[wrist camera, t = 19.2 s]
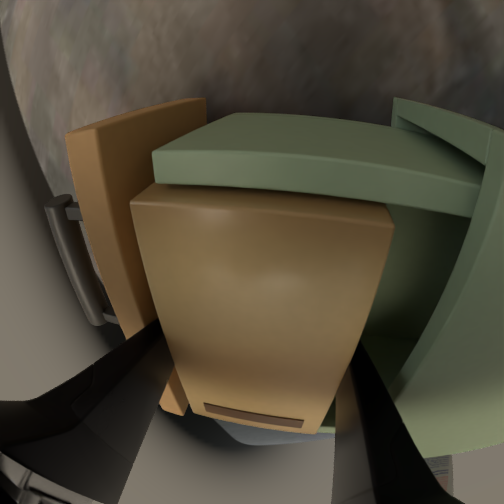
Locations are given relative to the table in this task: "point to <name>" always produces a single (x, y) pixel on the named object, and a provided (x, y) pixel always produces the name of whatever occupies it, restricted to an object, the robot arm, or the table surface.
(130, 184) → the drawer
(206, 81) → the table surface
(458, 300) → the cabinet
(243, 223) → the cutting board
